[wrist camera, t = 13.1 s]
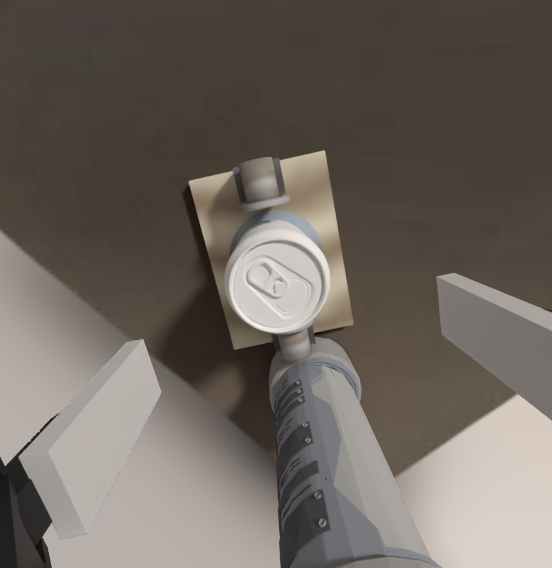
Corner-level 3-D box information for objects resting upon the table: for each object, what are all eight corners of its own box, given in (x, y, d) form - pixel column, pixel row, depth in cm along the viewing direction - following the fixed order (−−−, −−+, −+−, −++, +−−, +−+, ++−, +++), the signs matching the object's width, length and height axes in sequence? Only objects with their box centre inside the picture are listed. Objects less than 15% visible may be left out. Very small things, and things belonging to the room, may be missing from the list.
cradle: (191, 181, 34) (169, 177, 27) (322, 151, 34) (339, 138, 26) (235, 345, 39) (228, 381, 32) (351, 320, 39) (372, 350, 31)
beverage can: (279, 308, 37) (286, 359, 25) (220, 263, 35) (199, 296, 24) (327, 252, 35) (357, 278, 24) (267, 203, 34) (269, 205, 22)
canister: (264, 404, 41) (263, 887, 12) (273, 330, 39) (299, 717, 10) (343, 410, 42) (517, 885, 13) (357, 338, 40) (610, 724, 11)
